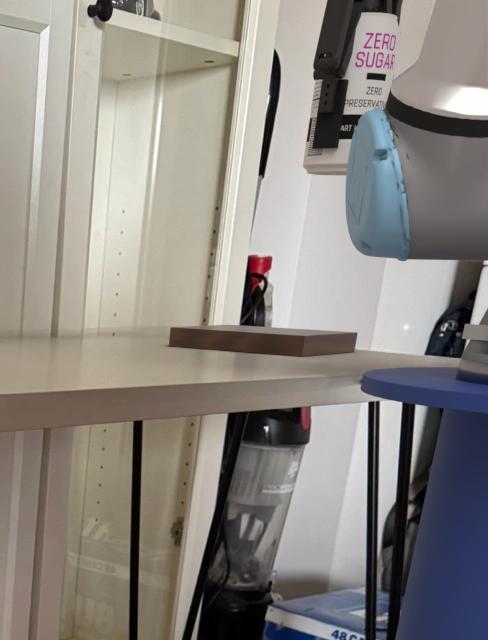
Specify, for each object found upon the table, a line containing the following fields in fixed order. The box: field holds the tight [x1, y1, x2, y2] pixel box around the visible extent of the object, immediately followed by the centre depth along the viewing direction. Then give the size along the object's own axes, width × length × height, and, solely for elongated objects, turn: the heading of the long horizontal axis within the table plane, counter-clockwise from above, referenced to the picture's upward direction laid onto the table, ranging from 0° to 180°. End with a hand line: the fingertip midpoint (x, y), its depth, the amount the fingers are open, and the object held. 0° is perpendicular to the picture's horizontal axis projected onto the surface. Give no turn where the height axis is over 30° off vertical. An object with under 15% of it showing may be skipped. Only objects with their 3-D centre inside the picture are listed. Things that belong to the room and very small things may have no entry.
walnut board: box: [168, 324, 359, 357], centre depth 143 cm, size 20×16×2 cm
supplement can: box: [302, 12, 402, 176], centre depth 116 cm, size 8×8×15 cm
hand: (342, 151), depth 118 cm, fingers closed on supplement can, 8 cm apart
